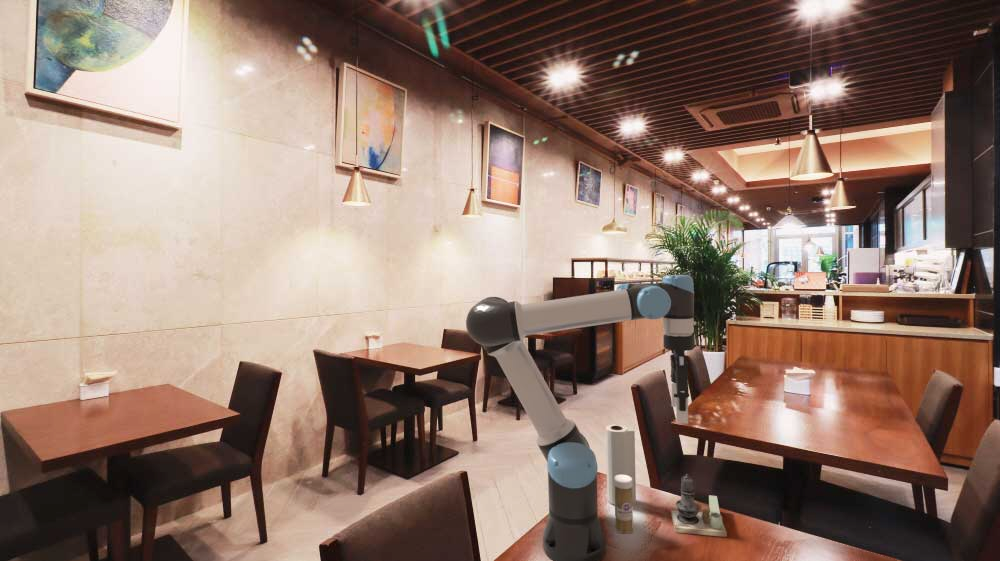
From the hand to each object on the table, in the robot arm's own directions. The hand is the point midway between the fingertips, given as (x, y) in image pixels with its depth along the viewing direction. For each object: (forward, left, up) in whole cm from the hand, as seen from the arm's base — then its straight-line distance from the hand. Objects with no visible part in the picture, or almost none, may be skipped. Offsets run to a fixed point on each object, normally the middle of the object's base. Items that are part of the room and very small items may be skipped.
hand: (679, 414), depth 123 cm
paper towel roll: (-16, +7, -28) cm, 33 cm away
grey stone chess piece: (+1, -2, -27) cm, 27 cm away
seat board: (+4, -2, -28) cm, 28 cm away
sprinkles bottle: (-15, -7, -28) cm, 33 cm away
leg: (+8, 0, -27) cm, 28 cm away
